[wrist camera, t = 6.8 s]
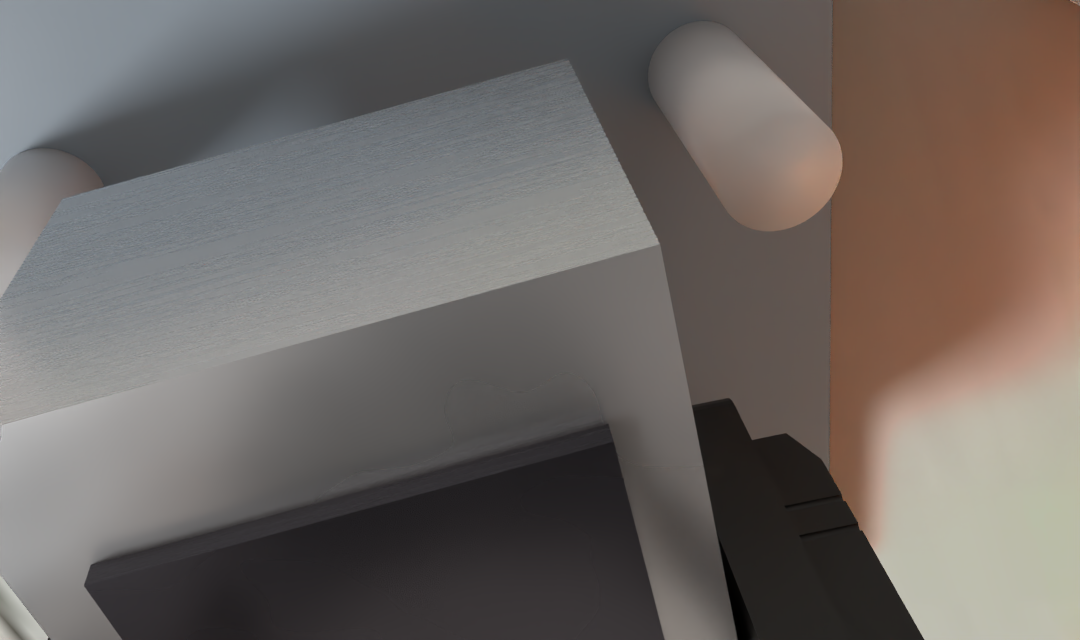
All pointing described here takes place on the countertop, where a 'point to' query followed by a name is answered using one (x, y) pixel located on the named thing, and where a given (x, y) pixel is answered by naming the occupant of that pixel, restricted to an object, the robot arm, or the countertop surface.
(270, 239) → the block
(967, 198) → the countertop surface
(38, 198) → the grey plate with pegs
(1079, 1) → the milk carton
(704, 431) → the robot arm
